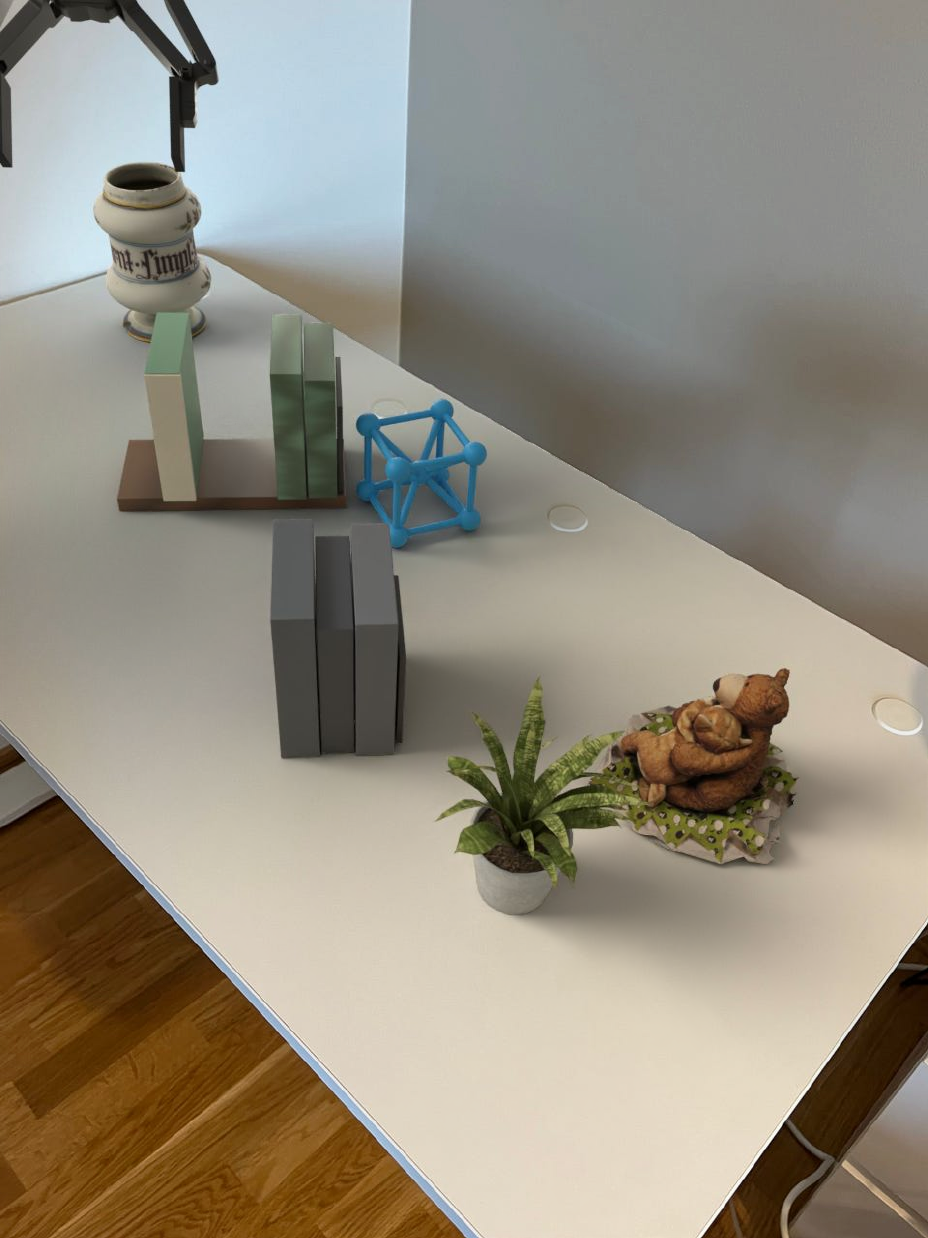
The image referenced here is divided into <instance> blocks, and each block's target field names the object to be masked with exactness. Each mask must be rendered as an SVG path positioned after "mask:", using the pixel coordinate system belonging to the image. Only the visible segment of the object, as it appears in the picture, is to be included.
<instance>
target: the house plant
mask: <svg viewBox="0 0 928 1238" xmlns="http://www.w3.org/2000/svg"><path fill="white" fill-rule="evenodd" d="M540 679H541V676H538V678H537V679H536V680H535V683H534V685H533V687H532V688H531V691H530V693H529V695H528V698H527V703H526V705H525V708H524V712H523V717H522V721H521V725H520V728H519V729H520V730H519V733H518V735H517V739H516V743H515V747H514V751H513V756H512V768H513V769H512V770H513V774H512V773H511V768H510V765H509V762H508V759H507V756H506V752H505V748H504V746H503V744H502V742H501V740H500V739H499V737H498V736H497V734H496V733H495V731H494V730H493V728H492V727H491V725H490V724H488V722H486V721H485V719H483V718H482V717H481V716H479V715H478V714H476V713H475V712H474V711H472V710H470V713H471V715H472V717H473V720H474V722H475V723H476V725H477V726H478V727H479V729H480V733H481V738H482V740H483V742H484V744H485V746H486V748H487V751H489V753H490V756H491V758H492V761H493V764H494V766H491V765H490V766H489V765H477V764H476V763H474V761H472V760H471V759H468V758H466V757H464V756H463V757H462V756H457V755H456V756H455V755H454V756H453V755H452V756H451V755H449V756H445V758H446V761H447V767H448V769H449V770H447V771H446V773H449V774H451V775H452V776H453V777H458V778H459V779H460V780H462V781H464V782H465V783H466V784H468V785H469V786H471V787H472V788H474V789H475V790H477V791H478V792H479V793H480V795H481V796H483V798H484V799H485V800H483V802H482V801H480V800H477V799H474V798H464V799H461V800H460V801H457V802H456V803H454V805H452V806H451V807H449V808H447V809H446V810H445V811H443V812H441V813H440V814H439V816H438V817H437V819H436V820H434V821H433V823H435V822H438V821H441V820H443V819H445V818H447V817H449V816H450V817H451V816H452V815H455V814H457V813H459V812H463V811H464V810H468V809H472V808H476V810H474V813H473V815H472V817H471V820H470V824H469V825H468V826H466V827H464V828H462V830H461V832H460V834H459V838H458V841H457V845H456V848H455V851H454V852H453V854H457V853H463V854H467V855H472V859H473V867H474V873H475V880H476V881H475V882H476V886H477V890H478V893H479V895H480V897H481V898H482V900H483V901H484V902H485V903H486V904H487V906H489V907H490V908H492V909H494V910H495V911H496V912H500V913H503V914H506V915H514V916H517V915H525V914H527V913H530V912H533V911H534V910H536V909H537V908H538V907H540V906H541V905H542V904H543V902H544V901H545V900H546V898H547V896H548V894H549V893H550V890H552V887H553V886H554V888H555V890H557V888H558V876H559V875H560V873H562V874H564V876H566V877H567V878H568V880H569V881H570V882H571V884H572V888H575V883H576V878H577V874H578V863H577V859H576V858H575V854H574V853H573V852H572V849H573V846H574V831H573V830H599V829H605V828H608V827H619V828H621V829H622V828H623V827H622V826H621V824H619V822H618V821H617V820H621V821H628V820H631V819H630V818H628V817H626V816H623V815H622V814H620V813H619V812H618V811H617V810H626V809H625V808H623V807H621V806H619V805H617V804H619V803H621V804H630V805H651V804H650V803H648V802H645V801H642V800H639V799H636V798H634V797H630V796H625V795H620V794H615V793H614V791H613V790H611V789H609V788H608V787H606V786H603V785H589V784H588V785H584V786H579V787H576V788H572V789H569V790H566V791H565V792H562V791H563V790H564V789H565V788H566V787H567V786H568V785H569V784H570V783H571V782H573V781H576V780H579V779H582V778H592V777H594V776H595V777H599V778H604V779H608V780H612V781H615V782H619V783H622V784H626V785H629V786H633V787H637V788H641V789H645V790H649V789H646V788H643V787H640V786H637V785H635V784H632V783H629V782H627V781H625V780H623V779H620V778H617V777H614V776H610V775H606V774H601V773H596V772H594V771H593V772H590V771H586V770H588V769H590V767H592V766H593V765H594V763H595V761H596V760H597V758H598V757H599V755H600V754H601V752H602V751H603V750H604V749H605V748H607V747H608V746H610V745H612V744H613V743H614V742H617V740H618V737H619V736H621V735H622V734H624V733H625V732H627V731H626V730H618V731H613V732H609V733H605V734H602V735H599V736H597V737H595V738H593V739H591V736H592V735H594V733H590V734H589V735H587V736H585V737H583V739H581V740H580V741H578V742H577V743H576V744H574V745H573V746H572V747H571V748H570V749H569V750H568V751H567V752H565V753H564V754H563V755H561V757H559V758H558V759H556V760H555V761H554V762H552V763H551V764H550V765H549V766H548V767H547V768H546V769H544V771H543V772H542V773H541V774H540V775H539V776H538V777H537V779H536V778H535V777H536V770H537V765H538V760H539V756H540V752H541V750H543V749H544V748H546V747H547V746H548V745H550V744H551V743H552V742H554V741H556V739H557V738H558V737H559V735H558V736H556V737H554V738H551V740H549V741H547V742H545V743H543V744H542V742H543V738H544V734H545V728H546V715H545V712H544V708H543V691H544V690H543V687H542V683H541V680H540ZM590 739H591V740H590ZM589 740H590V741H589ZM483 770H486V771H491V772H492V773H493V772H494V773H496V776H497V780H498V785H499V787H500V790H501V792H499V791H498V789H497V787H496V786H495V784H494V783H493V782H492V781H491V779H489V777H488V776H487V775H486V774H485V772H483ZM535 779H536V780H535ZM650 791H651V790H650ZM560 792H562V793H560ZM559 793H560V794H559ZM652 806H653V805H652ZM605 808H607V809H605ZM608 808H610V809H613V810H610V809H608ZM616 809H617V810H616ZM614 810H616V811H614ZM627 811H628V810H627ZM632 821H633V820H632Z"/></svg>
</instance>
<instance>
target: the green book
mask: <svg viewBox="0 0 928 1238" xmlns="http://www.w3.org/2000/svg"><path fill="white" fill-rule="evenodd" d="M196 368H197V367H196V358H195V351H194V343H193V337H192V334H191V325H190V317H189V313H157V314H156V319H155V324H154V329H153V334H152V339H151V342H150V345H149V349H148V354H147V360H146V363H145V369H144V373H143V380H144V386H145V392H146V398H147V399H146V400H147V405H148V411H149V417H150V418H149V419H150V425H151V431H152V437H153V440H154V444H155V450H156V456H157V462H158V469H159V475H160V481H161V488H162V494H163V500H164V501H196V500H197V489H198V480H199V472H200V463H201V455H202V446H203V439H205V436H204V426H203V418H202V409H201V404H200V403H201V401H200V393H199V385H198V377H197V369H196Z"/></svg>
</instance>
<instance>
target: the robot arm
mask: <svg viewBox="0 0 928 1238" xmlns="http://www.w3.org/2000/svg"><path fill="white" fill-rule="evenodd" d="M14 1H15V0H0V28H1V27H2V25H3V24H4V21H5V19H6V17H7V15H8V13H9V11H10V9H11V8H12V5H13V4H14ZM163 2H164V5H165V7H166V8H165V9H166V10H167V12H168V14H169V15H170V18H171V19H172V22H173V24H174V25H175V27H176V29H177V31H178V33H179V34H180V35H179V36H181V38H182V40H183V43H184V44H185V46H186V48H187V50H188V52H189V54H190V55H191V58H192V59H193V61H194V62H192V60H188V59H187V58H186V57H185V56H184V55H183V53H182V52H181V51H180V50H179V49H178V47H177V46H176V45H175V44H174V43H173V42H172V41H171V39H170V38H168V36H167V35H166V34H165V33H164V32H163V30H161V28H160V27H159V26H158V25H157V24H156V22H154V20H153V19H152V18H151V16H149V14H148V13H147V12H146V11H145V10H144V9H143V7H142V6H141V5H140V4H139V2H138V0H27V2H26V3H25V4H24V5H23V6H22V7H21V8H20V9H19V11H17V12H16V14H15V15H14V16H13V17H11V19H10V20H9V22H7V24H6V25H4V27H3V28H2V29H0V165H1V167H2V168H8V169H9V168H11V169H12V168H13V123H12V87H11V86H10V84H9V82H8V81H7V79H6V76H7V75H8V74H9V73H10V72H12V70H13V69H14V68H15V66H16V65H17V64H18V63H19V62H20V61H21V60H22V58H24V57H25V55H26V54H28V52H29V51H30V50H31V49H32V48H33V47H34V45H35V44H36V43H37V42H38V41H39V40H40V39H41V37H42V36H43V35H44V34H45V33H46V32H47V31H48V30H49V29H54V28H55V27H56V26H57V25H58V24H59V23H60V22H61V21H62V19H64V18H67V19H69V20H70V22H72V23H73V22H74V23H83V22H87V21H94V22H97V23H101V24H111V21H113V20H115V19H116V18H119V19H120V20H121V21H122V23H123V24H124V25H125V26H126V28H128V29H129V30H130V31H131V32H133V33H134V34H135V35H136V36H137V38H139V40H140V41H141V43H143V45H145V47H146V48H147V49H148V50H149V52H151V54H153V56H154V57H155V58H156V59H157V60H158V62H159V63H160V64H161V65H162V67H163V68H164V69H165V70H166V71H167V72H168V73H169V75H170V76H168V91H169V93H168V95H169V131H170V132H169V133H170V135H169V136H170V158H171V162H172V166H173V167H174V168H175V171H176V172H180V173H186V157H185V156H186V154H185V153H186V152H185V150H186V149H185V129H196V127H197V124H198V90H199V89H200V88H201V87H203V86H206V85H209V86H216V85H217V84H219V81H220V76H219V75H220V74H219V70H218V65H217V61H216V59H215V56H214V54H213V53H212V51H211V49H210V47H209V45H208V43H207V41H206V39H205V37H204V36H203V34H202V32H201V30H200V27H199V26H198V24H197V22H196V21H195V18H194V17H193V15H192V13H191V11H190V9H189V7H188V5H187V3H186V2H185V0H163Z"/></svg>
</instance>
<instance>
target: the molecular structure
mask: <svg viewBox="0 0 928 1238" xmlns="http://www.w3.org/2000/svg"><path fill="white" fill-rule="evenodd" d="M454 413H455V409H454V406H453V403H452V402H451V401H449V400H448V399H445V398H439V399H436V400H435V401H433V403H431V406H430V409H425V410H420V411H414V412H409V413H404V414H397V415H393V416H387V417H382V418H379V417H378V416H377V415H376V414H375V413H372V412H363V413H362V414H360V415H359V416H358V417H357V419H356V422H355V429H356V431H357V433H358V434H359V435H360V436H362V437H364V438H363V439H364V441H363V442H364V443H363V445H364V446H363V449H364V451H363V455H364V456H363V463H364V464H363V465H364V466H363V476H364V477H363V478H362V479H361V480H360V481H358V483H357V484H356V488H355V490H356V491H355V492H356V495H357V496H358V498H359V499H360V500H362V501H363V502H370V503H371V505H372V506H373V507H374V509H375V511H376V512H377V514H378V516H379V517H380V519H381V520H382V522H383V524H385V523H388V524H389V526H390V537H391V547H392V548H395V549H396V548H401V547H403V546H405V544H406V543H407V542H408V540H409V537H412V536H417V535H421V534H422V535H423V534H426V533H430V532H434V531H435V532H436V531H439V530H443V529H448V528H451V527H456V526H457V527H458V526H459V527H460V528H461V530H464V531H467V532H468V531H469V532H470V531H474V530H476V529H477V528H478V527H479V526H480V524H481V520H482V517H481V513H480V511H479V510H477V509H476V508H474V507H475V498H476V495H475V494H476V488H477V487H476V485H477V477H478V476H477V474H478V467H480V466H482V465H483V464H484V463H485V462H486V460H487V457H488V452H487V451H488V450H487V448H486V446H485V445H484V444H483V443H481V442H479V441H476V440H475V441H470V439H469V438H468V437H467V436H466V434H465V433H464V432H463V430H462V429H461V428H460V427H459V425H458V424H457V422H456V421H455V419H454V418H453V416H454ZM428 418H431V419H433V423H432V426H431V429H430V431H429V434H428V437H427V438H426V439H427V440H426V442H425V445H424V448H423V451H422V453H421V455H420V459H419V460H415V461H413V460H412V459H411V458H410V457H409V456H408V455H407V454H406V453H405V452H404V451H403V450H401V449H400V448H399V447H398V446H397V445H396V444H395V443H394V442H393V441H392V440H391V439H390V438H389V437H388V436H386V435H385V434H384V433H383V432H382V431H381V427H385V426H391V425H396V424H401V423H407V422H411V421H412V422H413V421H417V420H422V419H423V420H424V419H428ZM446 425H447V427H449V429H450V430H451V432H452V433H453V434H454V435H455V437H456V438H457V439H458V441H459V442H460V443H461V445H462V447H463V448H462V452H459V453H454V454H449V455H444V443H445V427H446ZM435 441H436V442H435ZM373 442H374V443H375V444H376V446H377V448H378V450H379V451H380V452H381V454H382V455H383V457H384V458H385V460H386V462H387V463H386V464H385V468H384V473H385V475H386V477H387V479H384V480H381V481H378V482H377V481H376V480H375V479H373V477H372V475H373V474H372V473H373V471H372V470H373ZM434 445H435V457H434V458H430V456H431V453H432V450H433V447H434ZM429 458H430V459H429ZM462 463H465V464H466V465H467V466H469V469H468V479H467V481H468V482H467V491H466V492H467V493H466V503H465V504H466V505H465V504H464V503H463V502H462V501H461V499H460V498H459V496H458V495H457V494H456V492H455V490H454V489H453V488H452V485H450V484H449V482H448V481H449V480H450V471H449V469H448V468H450V467H453V466H455V465H459V464H462ZM409 485H410V486H409ZM419 485H420V486H421V485H426V486H427V487H429V488H430V489H431V490H432V491H433V492H434V493H435V494H436V495H437V496H438V497H439V498H440V499H441V500H442V501H443V502H445V504H447V505H448V506H449V507H450V508H451V509H452V511H454V512H455V513H456V514H457V516H456V517H454V518H450V519H445V520H441V521H436V522H432V523H427V524H424V525H419V526H414V527H410V528H407V527H405V523H406V521H407V518H408V516H409V513H410V510H411V508H412V505H413V502H414V500H415V496H416V494H417V491H418V488H419ZM404 486H409V489H408V490H407V494H406V497H405V499H404V502H403V504H402V487H404ZM392 489H393V493H392V495H393V496H392V519H391V518H390V516H389V515H388V513H387V511H386V509H385V508H384V506H383V505H382V503H381V502H380V500H379V499H378V496H379V495H380V492H382V491H386V490H392Z"/></svg>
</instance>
